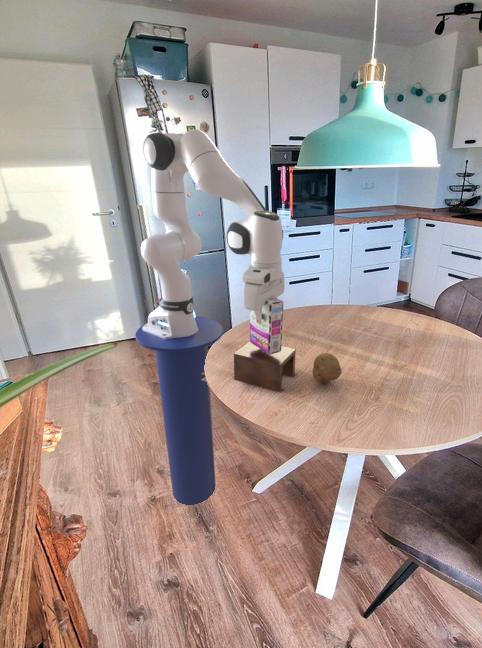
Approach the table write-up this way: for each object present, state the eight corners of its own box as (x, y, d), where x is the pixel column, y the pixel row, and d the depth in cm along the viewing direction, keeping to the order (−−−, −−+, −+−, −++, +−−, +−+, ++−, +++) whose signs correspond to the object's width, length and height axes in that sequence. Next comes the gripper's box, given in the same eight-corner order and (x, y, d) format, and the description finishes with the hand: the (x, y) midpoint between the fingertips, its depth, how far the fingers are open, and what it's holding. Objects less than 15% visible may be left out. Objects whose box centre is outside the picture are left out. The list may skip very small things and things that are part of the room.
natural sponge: (344, 380, 126) (347, 353, 122) (332, 392, 119) (335, 364, 115) (319, 372, 130) (321, 346, 126) (307, 384, 123) (308, 356, 119)
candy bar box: (282, 351, 119) (284, 301, 112) (269, 355, 116) (270, 304, 109) (262, 338, 127) (262, 290, 120) (249, 342, 124) (249, 293, 117)
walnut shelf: (234, 379, 124) (233, 353, 120) (252, 364, 134) (252, 339, 130) (279, 391, 119) (280, 364, 115) (294, 374, 129) (295, 349, 125)
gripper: (271, 262, 121) (271, 303, 127) (239, 277, 104) (239, 324, 110) (290, 264, 119) (288, 307, 125) (259, 280, 102) (259, 328, 108)
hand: (265, 315), depth 117 cm, fingers closed on candy bar box, 6 cm apart
